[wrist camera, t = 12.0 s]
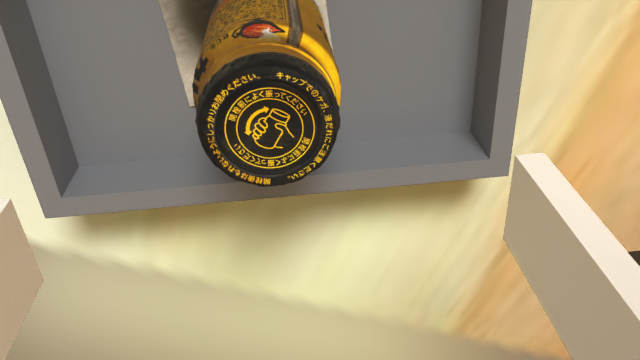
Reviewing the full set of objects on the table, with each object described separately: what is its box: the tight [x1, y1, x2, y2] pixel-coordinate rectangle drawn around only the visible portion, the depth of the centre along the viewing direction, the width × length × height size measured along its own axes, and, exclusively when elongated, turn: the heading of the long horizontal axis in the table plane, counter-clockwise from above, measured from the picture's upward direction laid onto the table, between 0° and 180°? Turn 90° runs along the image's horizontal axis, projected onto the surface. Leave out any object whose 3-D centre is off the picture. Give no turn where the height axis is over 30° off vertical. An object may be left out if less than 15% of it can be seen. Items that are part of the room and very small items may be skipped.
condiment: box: [158, 0, 341, 187], centre depth 26 cm, size 7×8×12 cm
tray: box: [0, 0, 532, 218], centre depth 30 cm, size 26×17×4 cm, turn 93°
